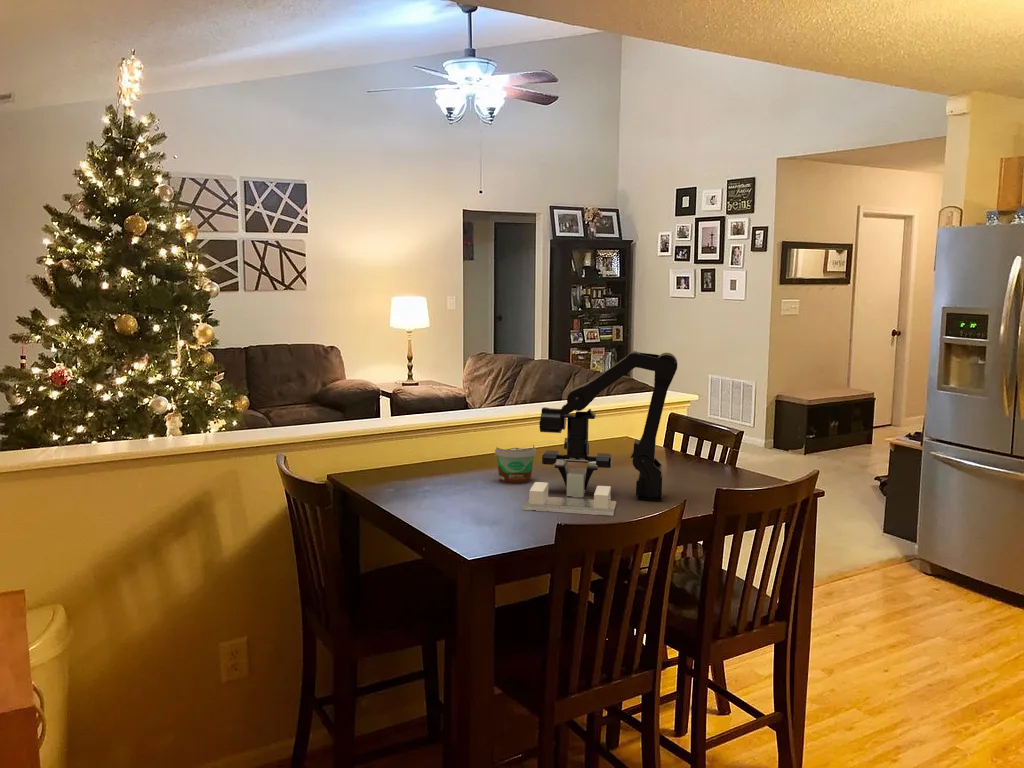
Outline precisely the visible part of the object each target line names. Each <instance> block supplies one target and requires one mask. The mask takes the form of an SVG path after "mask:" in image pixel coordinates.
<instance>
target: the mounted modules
mask: <svg viewBox="0 0 1024 768" xmlns="http://www.w3.org/2000/svg"><path fill="white" fill-rule="evenodd" d="M611 490H612V489H611V486H610V485H609V486H608V485H597V486H596V489H595V491H594V494H593V500H594V508H604V509H608V508H609V504H610V501H611V496H612V495H611V494H612V493H611ZM548 497H549V482H543V481H542V482H541V481H535V482H534V483H533V485H532V486H531V488H530V489H529V496H528V498H529V504H542V505H543V504H545V502H546V500H547V498H548Z"/></svg>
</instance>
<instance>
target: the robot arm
mask: <svg viewBox="0 0 1024 768" xmlns="http://www.w3.org/2000/svg"><path fill="white" fill-rule="evenodd" d="M635 368H637V369H642V370H643V369H644V370H647V371H651V372H654V384H653V385H654V386H653V390H652V394H651V395H652V396H651V398H650V403H649V407H648V411H647V415H646V418H645V419H646V421H645V424H644V428H643V432H642V435H641V436H640V437H641V438H640V439H637V438H635V439H634V442H633V450H632V451H631V455H630V458H631V459H632V466H633V467H634V469H635V470H637V471H638V472H639V473H638V478H637V479H636V483H635V496H637V500H640V501H641V500H642V501H656V502H657V501H658V502H662V501H663V474H662V471H663V465H662V464H661V462H660V461H659V460H658V459H657V458H656V441H657V439H656V438H657V435H658V431H659V426H660V422H661V418H662V413H663V409H664V406H665V403H666V397H667V393H668V389H669V387H670V385H671V384H672V382H673V379H674V376H675V374H676V372H677V370H678V359H677V357H676V356H675V355H674V354H673V353H670V352H662V353H661V354H657V353H656V354H655V353H646V352H639V351H635V350H633V351H631V352H629V353H628V354H627V356H625V357H624V358H622V359H621V360H619V361H618V362H617V363H615V364H614V365H612V366H611V367H610V368H608V369H607V370H605V371H604V372H603V373H601V374H599V375H598V376H597V377H595V378H594V379H592V380H589V381H588V382H584V383H583V384H581V385H578V386H576V387H574V388H573V389H572V390H571V391H570V392H569V393H568V395H567V398H566V403H565V404H563V406H562V407H561V408H554V407H553V408H552V407H551V408H550V407H541V413H540V420H539V432H540V433H549V434H550V433H551V434H553V433H554V434H561V433H562V431H563V430H566V425H567V430H566V432H567V433H566V434H567V435H566V437H564V441H563V442H564V443H563V445H564V446H563V449H564V450H566V454H560V451H559V450H549V449H548V450H545V451H544V453H543V454H542V456H541V458H542V459H541V464H542V465H551V466H553V465H554V468H555V469H558V471H559V474H560V475H561V477H562V480H563V482H564V485H565V487H566V489H567V474H568V472H569V471H568V470H569V468H568V467H569V466H568V464H569V463H581V464H582V463H584V464H587V467H586V469H587V470H586V477H585V485H584V490H586V491H587V487H588V486H589V482H590V479H591V476H592V475H593V473H594V471H598V470H599V469H600V468H602V469H603V468H604V469H610V468H611V467H612V464H613V455H612V454H611V453H604V452H597V455H596V456H594V455H590V443H589V420H595V418H596V416H597V415H596V414H595V413H594V411H592V409H591V408H589V409H588V410H586V411H583V410H585V408H587V407H588V406H589V404H590V403H592V401H594V400H595V398H597V396H598V395H599V394H601V392H603V391H604V390H605V389H607V388H608V387H609V386H612V384H614V383H615V382H617V381H618V380H619V379H621V378H622V377H624V376H626V374H628V373H630V372H631V371H632V370H633V369H635ZM574 411H575V413H573V412H574Z"/></svg>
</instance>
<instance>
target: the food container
mask: <svg viewBox="0 0 1024 768" xmlns="http://www.w3.org/2000/svg"><path fill="white" fill-rule="evenodd" d="M494 455H496V460H497V470H498V480H500V483H505V484H509V483H510V484H511V485H519V484H520V485H522V483H523V484H527V483H530V482H531V480H532V474H533V466H534V465H533V464H534V456H535V455H537V450H536V447H535V445H532V447H529V448H521V447H512V448H507V449H503V448H501V447H498V446H496V448H495V450H494ZM529 481H530V482H529Z"/></svg>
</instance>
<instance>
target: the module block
mask: <svg viewBox="0 0 1024 768" xmlns="http://www.w3.org/2000/svg"><path fill="white" fill-rule="evenodd" d="M568 470H569V471H568V474H567V488H566V497H567V496H573V497H572V498H582V497H583V498H584V496H585V494H586V492H585V491H587V489H586V490H584V485H585V477H586V470H587V468H577V467H570V469H568ZM584 493H585V494H584Z"/></svg>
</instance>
